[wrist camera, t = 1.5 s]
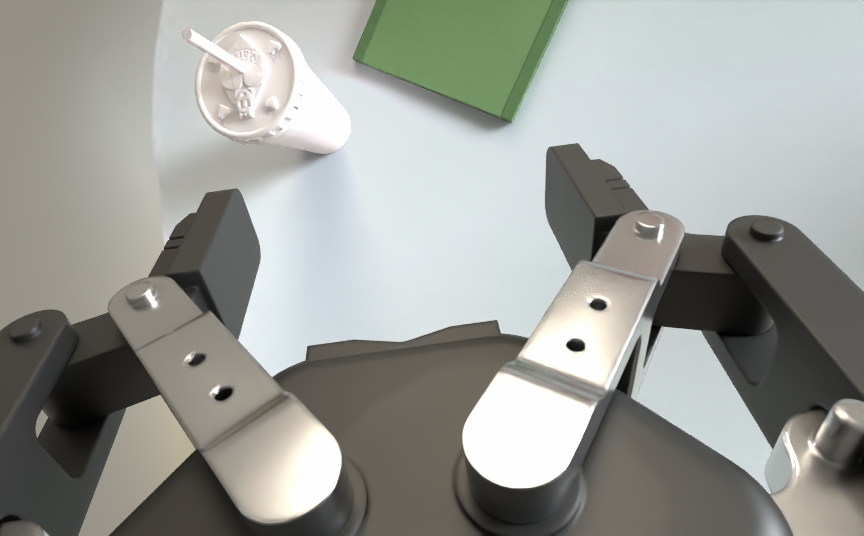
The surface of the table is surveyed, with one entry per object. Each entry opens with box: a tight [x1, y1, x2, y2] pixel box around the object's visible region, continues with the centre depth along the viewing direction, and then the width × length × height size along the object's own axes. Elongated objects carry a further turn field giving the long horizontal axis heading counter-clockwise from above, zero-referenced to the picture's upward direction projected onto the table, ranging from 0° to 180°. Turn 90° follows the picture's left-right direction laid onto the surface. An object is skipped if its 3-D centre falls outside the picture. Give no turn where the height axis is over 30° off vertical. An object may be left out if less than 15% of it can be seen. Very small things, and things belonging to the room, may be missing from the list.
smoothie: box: [182, 21, 351, 154], centre depth 31 cm, size 6×6×14 cm
